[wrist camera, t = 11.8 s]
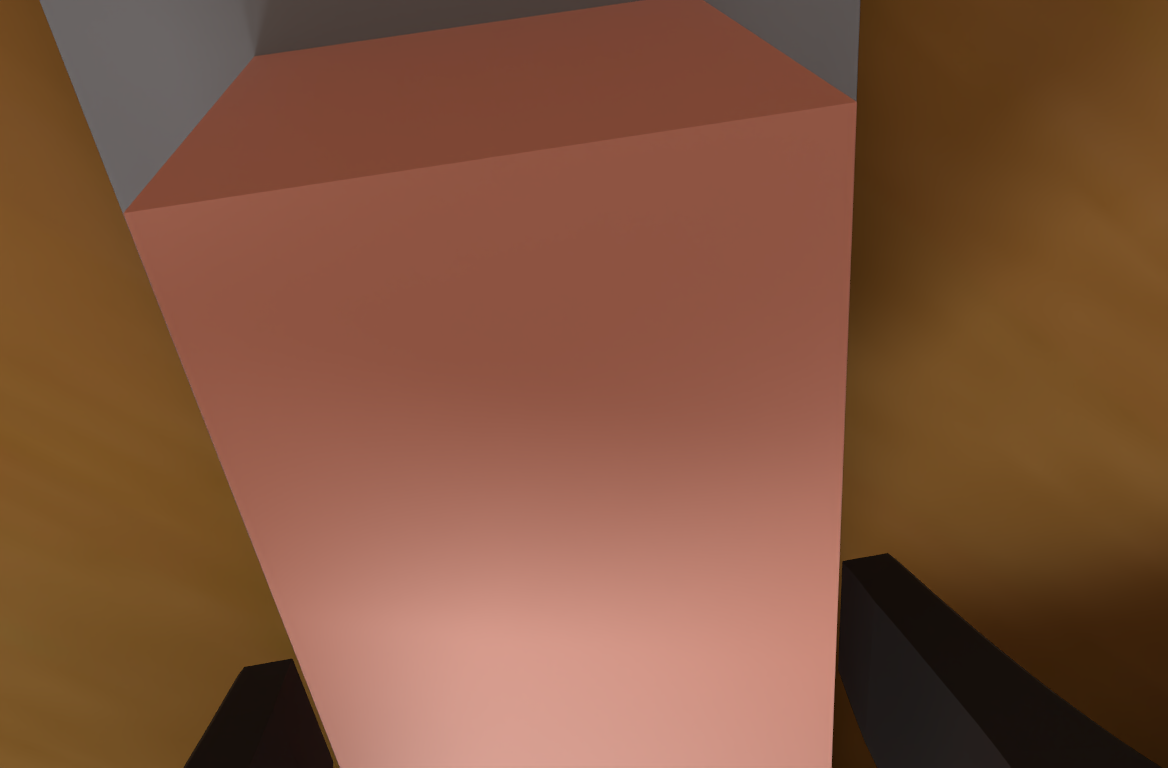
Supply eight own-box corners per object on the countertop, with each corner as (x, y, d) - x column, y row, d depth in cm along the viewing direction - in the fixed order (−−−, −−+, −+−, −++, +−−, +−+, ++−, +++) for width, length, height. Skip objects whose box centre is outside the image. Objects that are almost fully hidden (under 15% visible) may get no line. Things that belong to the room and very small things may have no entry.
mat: (853, -175, 10) (866, -176, 10) (822, 812, 20) (829, 829, 19) (30, -63, 10) (16, -60, 10) (397, 893, 19) (396, 912, 19)
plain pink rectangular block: (693, -7, 11) (857, 102, 6) (729, 734, 17) (821, 1027, 13) (253, 56, 10) (123, 213, 6) (463, 784, 17) (469, 1099, 13)
